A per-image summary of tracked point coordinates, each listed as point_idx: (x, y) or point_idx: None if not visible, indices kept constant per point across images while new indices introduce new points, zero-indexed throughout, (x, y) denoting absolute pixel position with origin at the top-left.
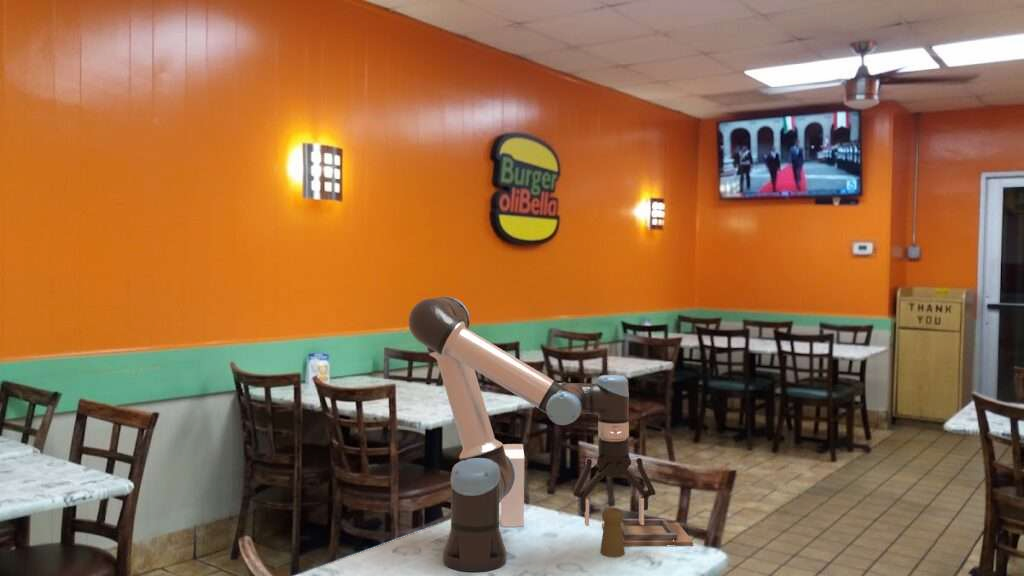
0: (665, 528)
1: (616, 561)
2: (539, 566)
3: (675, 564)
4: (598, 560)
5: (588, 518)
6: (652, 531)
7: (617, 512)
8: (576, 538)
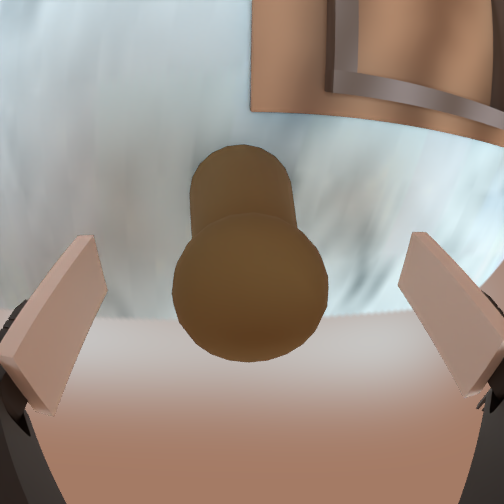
0: (497, 19)
1: None
2: None
3: None
4: None
5: (91, 318)
6: (455, 9)
7: (278, 356)
8: (106, 17)
